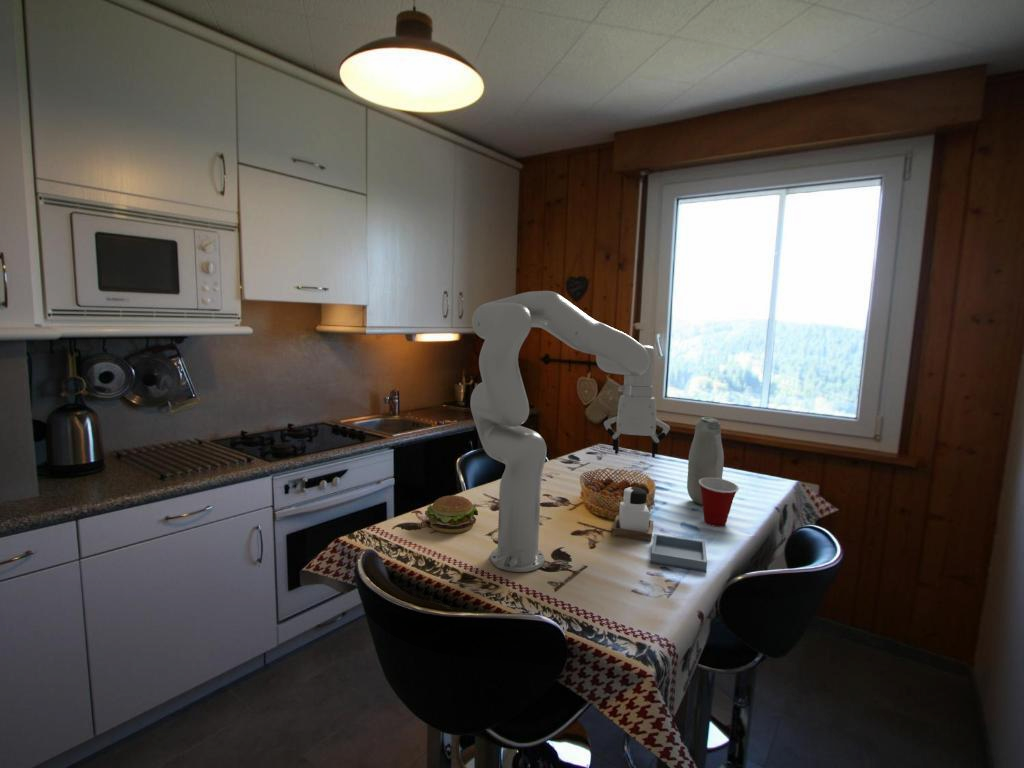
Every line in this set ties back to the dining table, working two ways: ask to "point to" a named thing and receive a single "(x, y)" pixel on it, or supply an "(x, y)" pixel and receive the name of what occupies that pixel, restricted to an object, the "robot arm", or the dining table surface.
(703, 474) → the grey bottle
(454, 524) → the food
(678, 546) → the tray
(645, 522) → the medicine bottle
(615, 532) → the collar
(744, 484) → the dining table surface
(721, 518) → the plastic cup
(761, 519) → the dining table surface
